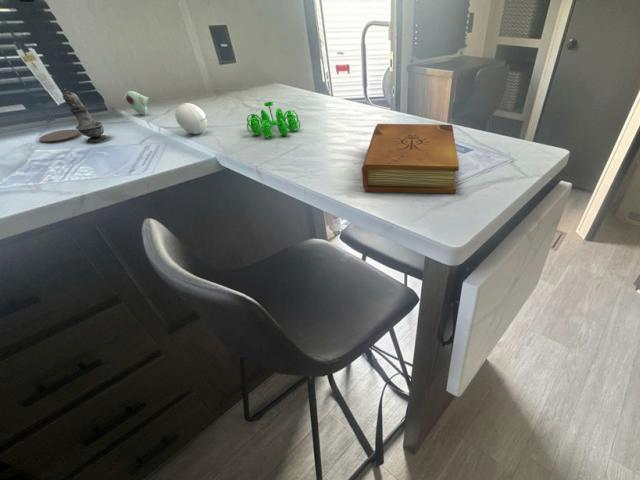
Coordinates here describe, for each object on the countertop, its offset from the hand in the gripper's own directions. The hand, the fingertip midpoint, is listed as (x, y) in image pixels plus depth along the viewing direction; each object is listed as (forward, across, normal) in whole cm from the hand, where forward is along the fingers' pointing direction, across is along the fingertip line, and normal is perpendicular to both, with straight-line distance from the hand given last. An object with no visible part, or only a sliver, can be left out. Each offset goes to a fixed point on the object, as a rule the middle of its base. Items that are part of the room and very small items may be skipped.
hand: (7, 3), depth 62 cm
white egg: (+28, -11, +21) cm, 36 cm away
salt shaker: (+28, -5, -4) cm, 28 cm away
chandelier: (+28, -12, +42) cm, 52 cm away
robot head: (+28, -26, -5) cm, 38 cm away
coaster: (+27, -7, -16) cm, 32 cm away
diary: (+27, +13, +81) cm, 87 cm away
